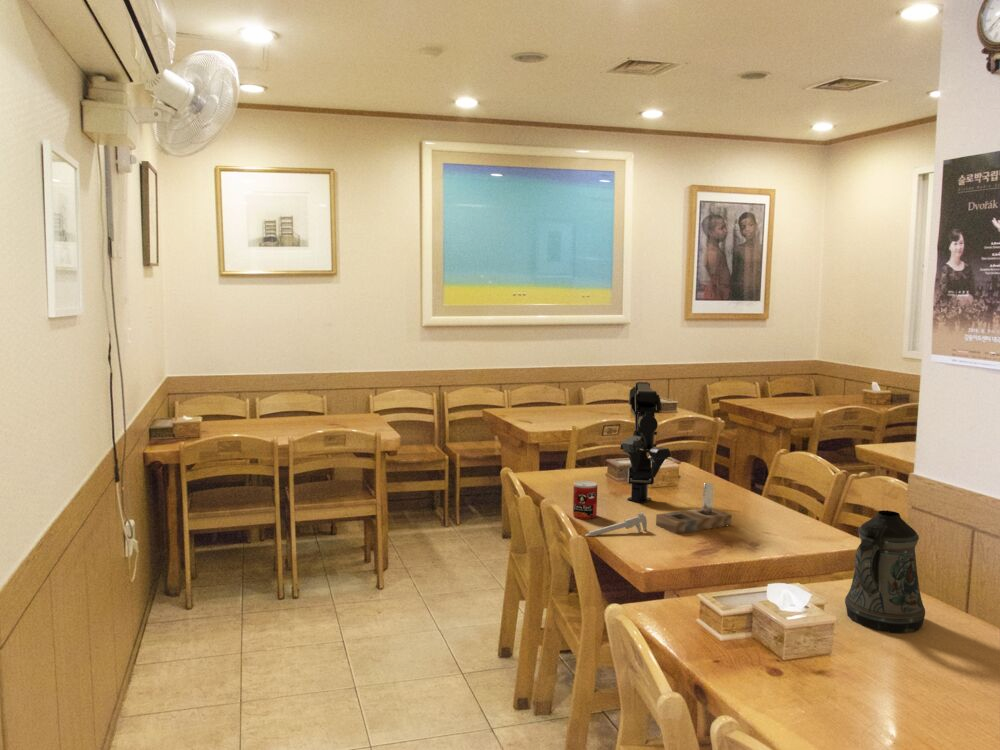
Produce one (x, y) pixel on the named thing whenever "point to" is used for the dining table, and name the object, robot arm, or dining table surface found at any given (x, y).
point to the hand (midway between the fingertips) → (644, 474)
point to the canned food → (585, 499)
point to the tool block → (692, 520)
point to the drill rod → (707, 499)
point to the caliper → (622, 525)
